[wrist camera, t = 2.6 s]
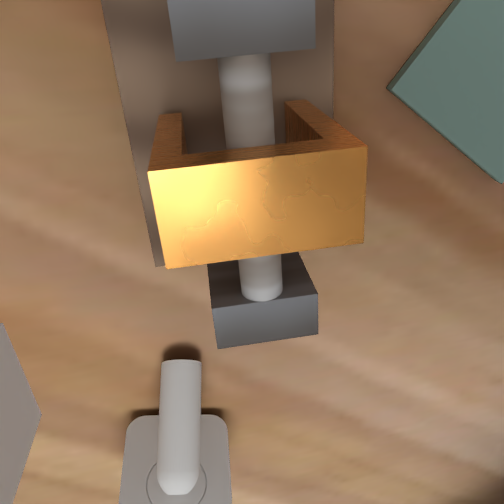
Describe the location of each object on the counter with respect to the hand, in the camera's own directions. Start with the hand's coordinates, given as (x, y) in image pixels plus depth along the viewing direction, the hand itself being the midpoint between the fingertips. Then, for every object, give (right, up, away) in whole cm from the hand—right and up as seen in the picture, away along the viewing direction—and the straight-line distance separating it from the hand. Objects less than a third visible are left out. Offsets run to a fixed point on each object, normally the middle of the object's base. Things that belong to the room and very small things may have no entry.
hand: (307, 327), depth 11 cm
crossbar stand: (-3, +9, +18) cm, 20 cm away
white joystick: (-7, -11, +28) cm, 31 cm away
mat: (+15, +14, +18) cm, 27 cm away
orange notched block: (-2, +8, +15) cm, 17 cm away
